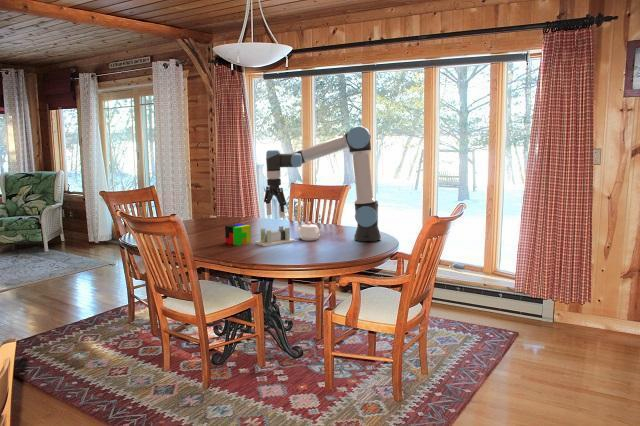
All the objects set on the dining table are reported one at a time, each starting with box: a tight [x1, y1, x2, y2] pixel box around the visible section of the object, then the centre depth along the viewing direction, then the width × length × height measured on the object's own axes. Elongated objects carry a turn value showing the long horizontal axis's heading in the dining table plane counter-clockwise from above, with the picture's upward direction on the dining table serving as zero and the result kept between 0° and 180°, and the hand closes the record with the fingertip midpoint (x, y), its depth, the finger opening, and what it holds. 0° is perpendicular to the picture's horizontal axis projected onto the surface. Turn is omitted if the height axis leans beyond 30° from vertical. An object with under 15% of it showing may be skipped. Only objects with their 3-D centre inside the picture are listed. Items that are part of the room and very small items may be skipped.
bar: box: [260, 229, 285, 243], centre depth 293 cm, size 4×16×5 cm, turn 126°
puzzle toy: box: [224, 223, 252, 247], centre depth 293 cm, size 10×10×10 cm
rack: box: [254, 225, 296, 248], centre depth 293 cm, size 10×20×8 cm, turn 126°
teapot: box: [297, 221, 323, 241], centre depth 302 cm, size 20×12×10 cm, turn 45°
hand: (275, 216), depth 291 cm, fingers open, 13 cm apart
